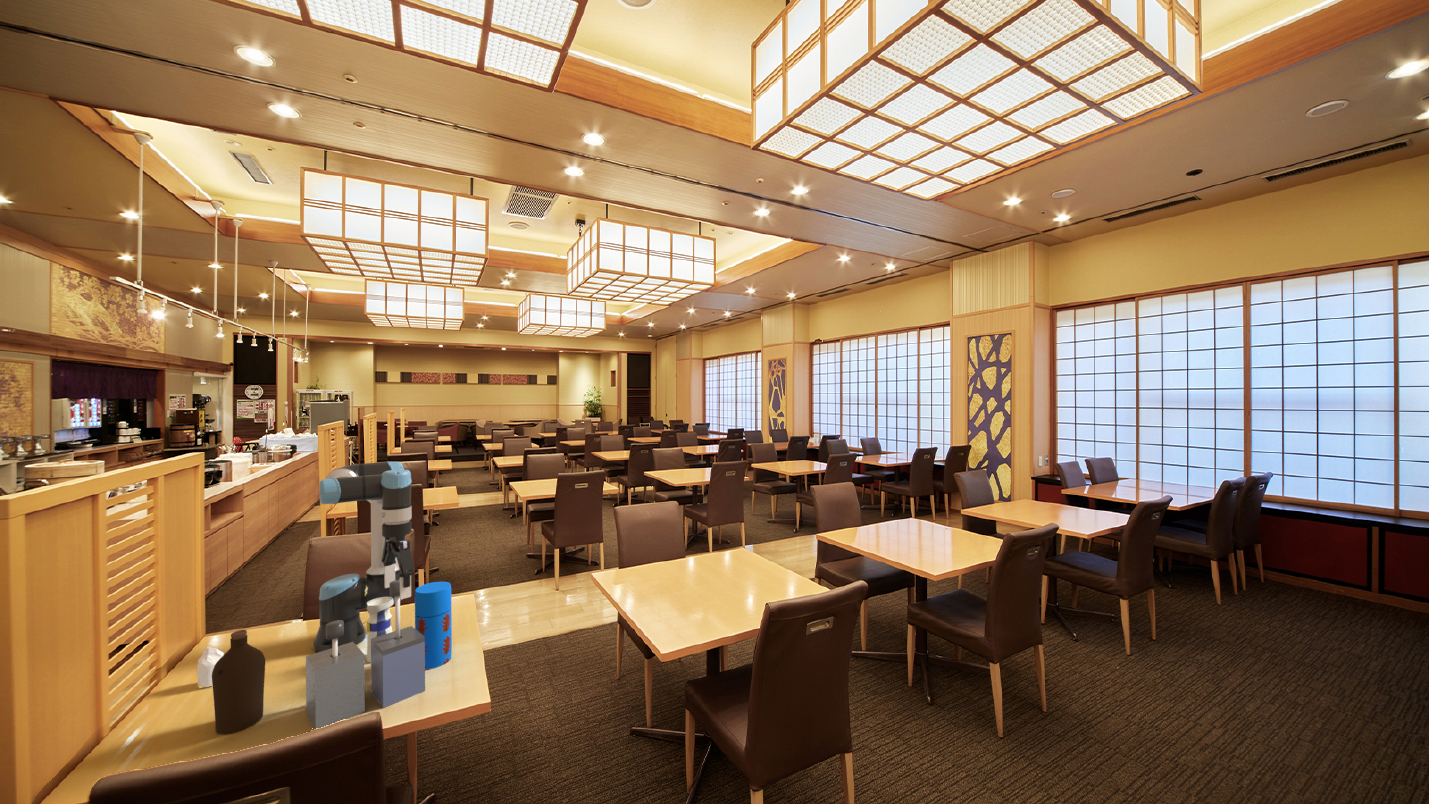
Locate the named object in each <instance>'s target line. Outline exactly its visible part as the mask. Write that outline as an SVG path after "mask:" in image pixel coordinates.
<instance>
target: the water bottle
mask: <svg viewBox="0 0 1429 804" xmlns="http://www.w3.org/2000/svg"><path fill="white" fill-rule="evenodd" d="M367 589H368V587H367V585H366V589H365V595H366V594H367ZM367 605H368V606H367V609H366V611H367V613H368V615H369V616H368V619H367V621H366V631H367V639H366V640H367V644H366V645H367V647H366V662H368V663H370V664H371V639H372V638H375V637H378V636H381V635H384V634H388V633H391V632H393V628H392V625H391V624H392V623H391V619H392V617H393V614H392V613H391V608H392V606H393V605H395V603H394V601H393V598H392V597H381V598H376V599H373V600H370V601H368V602H367Z"/></svg>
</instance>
